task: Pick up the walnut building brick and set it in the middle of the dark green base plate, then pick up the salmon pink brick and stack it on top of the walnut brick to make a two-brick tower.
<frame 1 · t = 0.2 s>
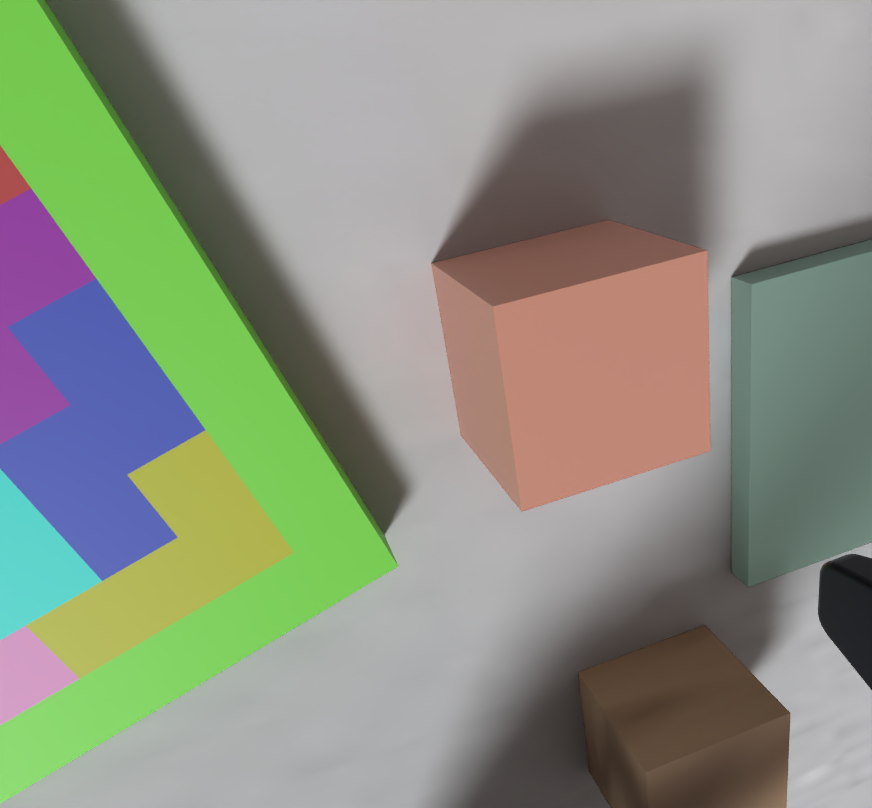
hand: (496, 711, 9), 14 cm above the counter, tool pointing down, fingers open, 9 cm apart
base plate: (870, 394, 29), on the counter
salmon pink brick: (531, 329, 24), on the counter
walnut brick: (644, 698, 31), on the counter
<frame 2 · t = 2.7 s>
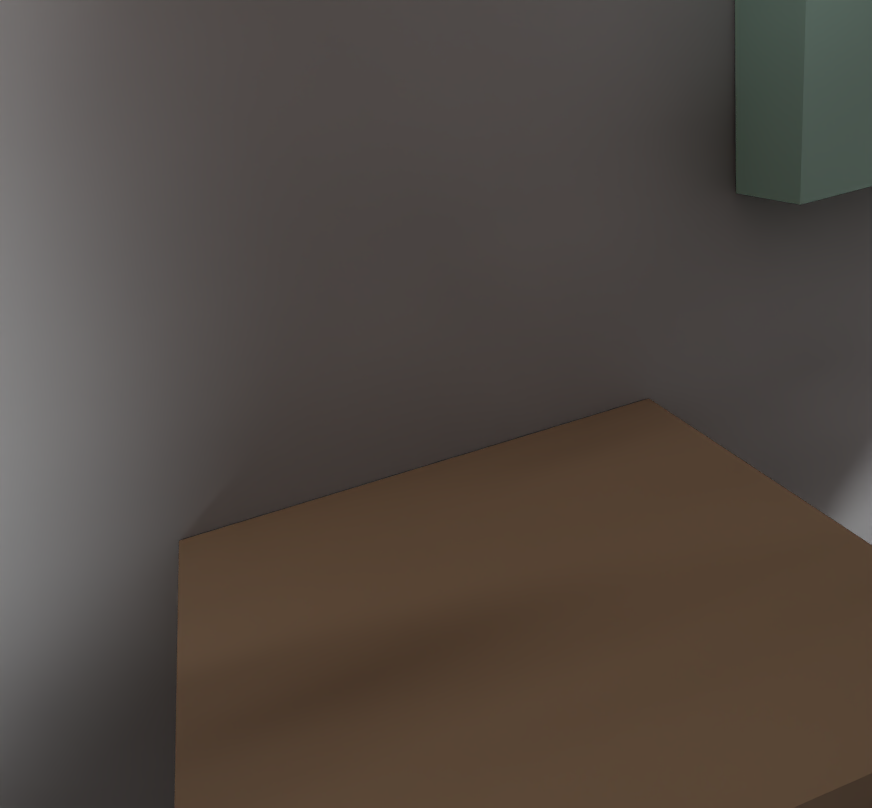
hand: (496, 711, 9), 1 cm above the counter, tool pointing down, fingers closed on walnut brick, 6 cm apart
walnut brick: (466, 652, 10), on the counter, touching gripper
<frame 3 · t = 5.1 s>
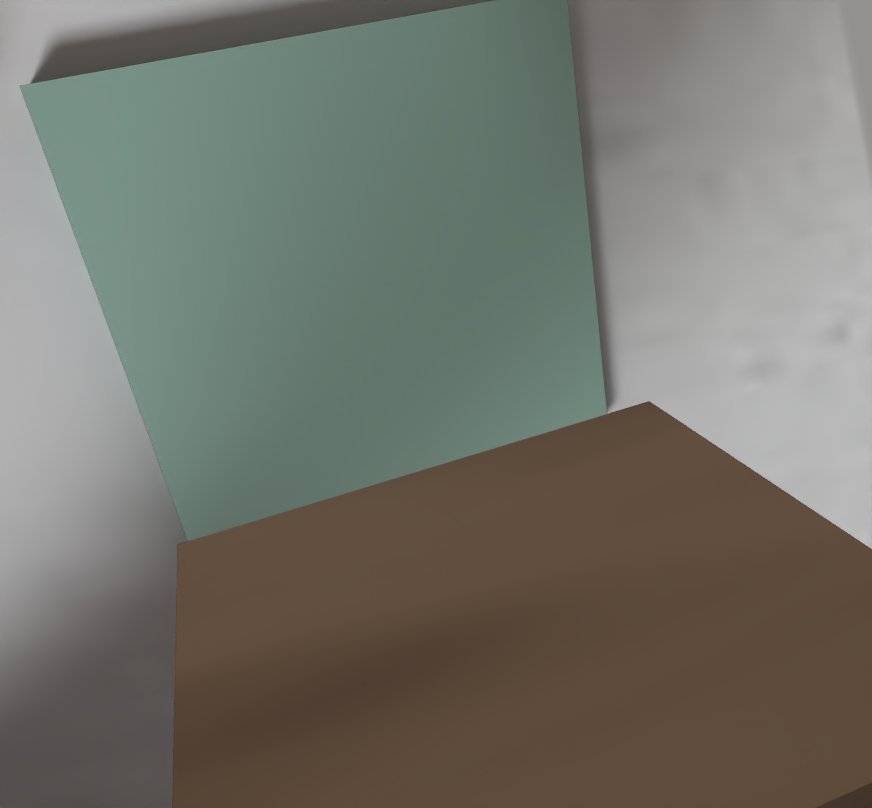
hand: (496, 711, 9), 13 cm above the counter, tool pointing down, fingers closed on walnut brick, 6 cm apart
base plate: (363, 291, 20), on the counter
walnut brick: (466, 656, 10), point 12 cm above the counter, touching gripper
when the fingers open (3 cm above the counter, at t = 7.4 s): walnut brick drops 1 cm, resting on base plate.
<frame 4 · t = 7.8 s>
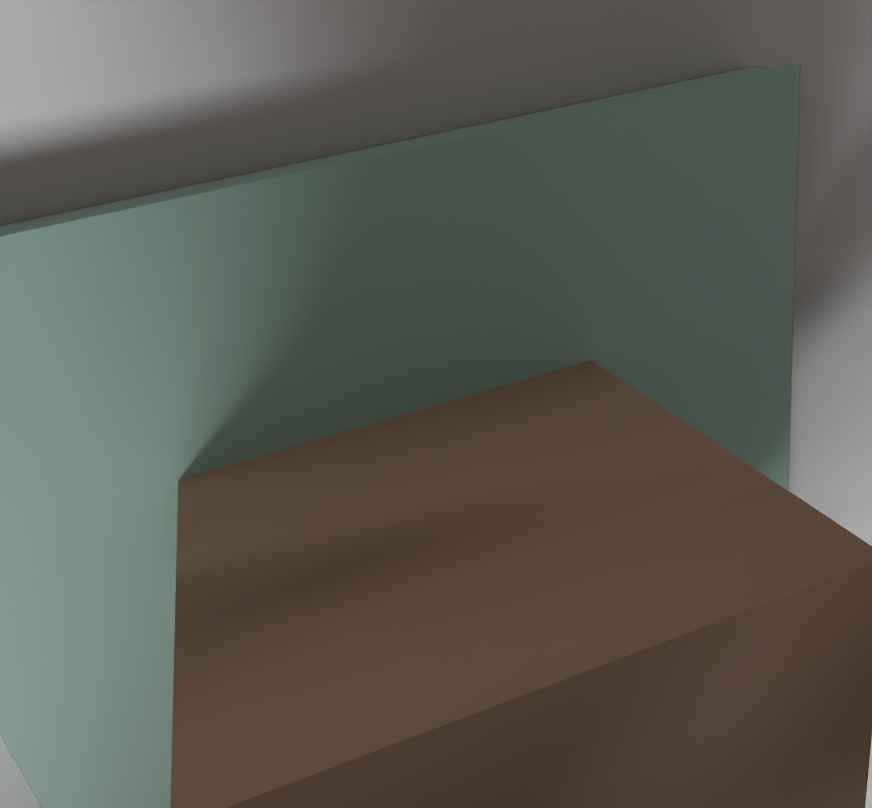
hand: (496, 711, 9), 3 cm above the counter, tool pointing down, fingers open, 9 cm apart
base plate: (417, 550, 12), on the counter
walnut brick: (433, 587, 11), point 1 cm above the counter, touching base plate
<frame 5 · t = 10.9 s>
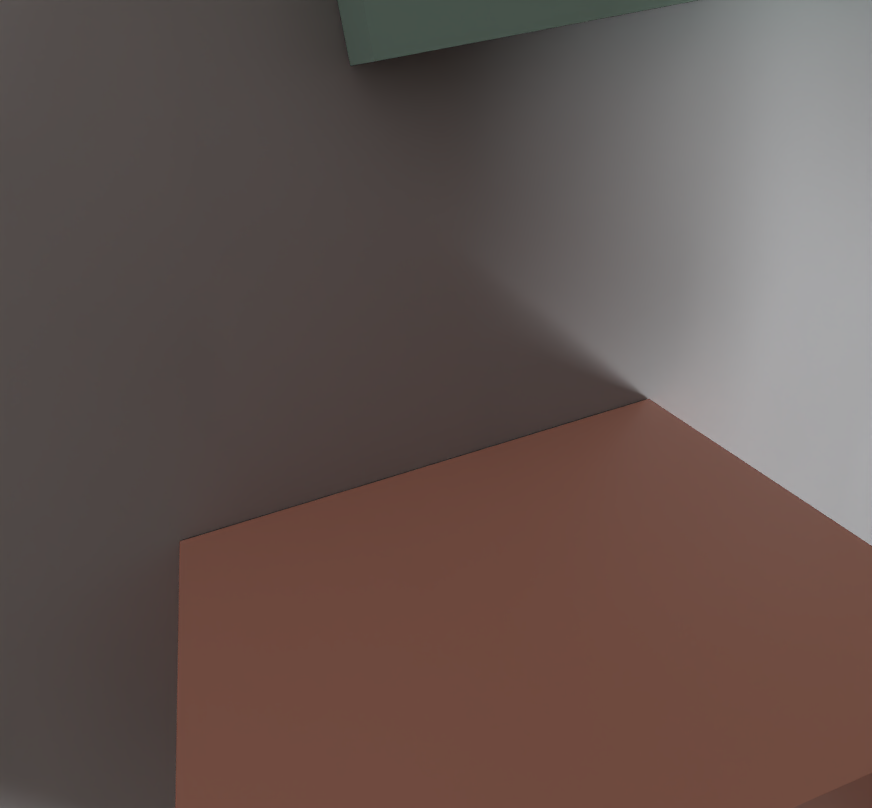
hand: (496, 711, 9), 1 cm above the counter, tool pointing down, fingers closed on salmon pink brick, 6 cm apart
salmon pink brick: (467, 652, 10), on the counter, touching gripper
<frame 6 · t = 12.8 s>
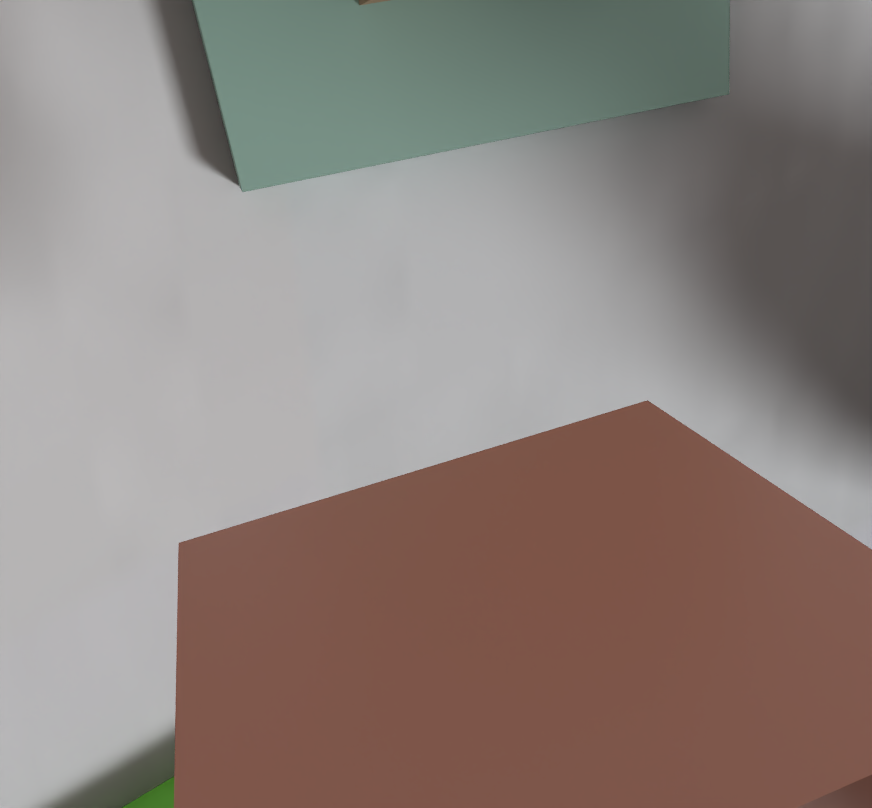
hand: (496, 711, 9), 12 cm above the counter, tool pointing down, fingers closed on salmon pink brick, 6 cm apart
salmon pink brick: (465, 654, 10), point 11 cm above the counter, touching gripper
when the fingers open (8 cm above the counter, at t = 14.8 s): salmon pink brick stays where it is, resting on walnut brick.
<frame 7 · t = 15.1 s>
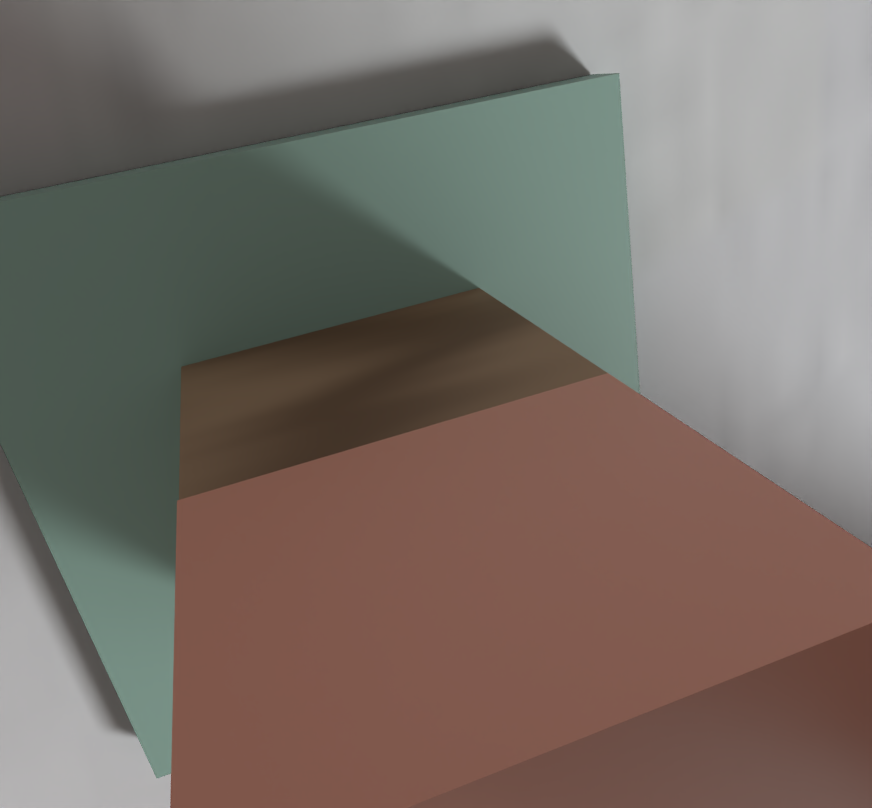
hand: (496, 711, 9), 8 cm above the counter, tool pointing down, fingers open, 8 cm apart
base plate: (357, 436, 16), on the counter
salmon pink brick: (442, 609, 11), point 6 cm above the counter, touching walnut brick
walnut brick: (368, 458, 15), point 1 cm above the counter, touching base plate, salmon pink brick
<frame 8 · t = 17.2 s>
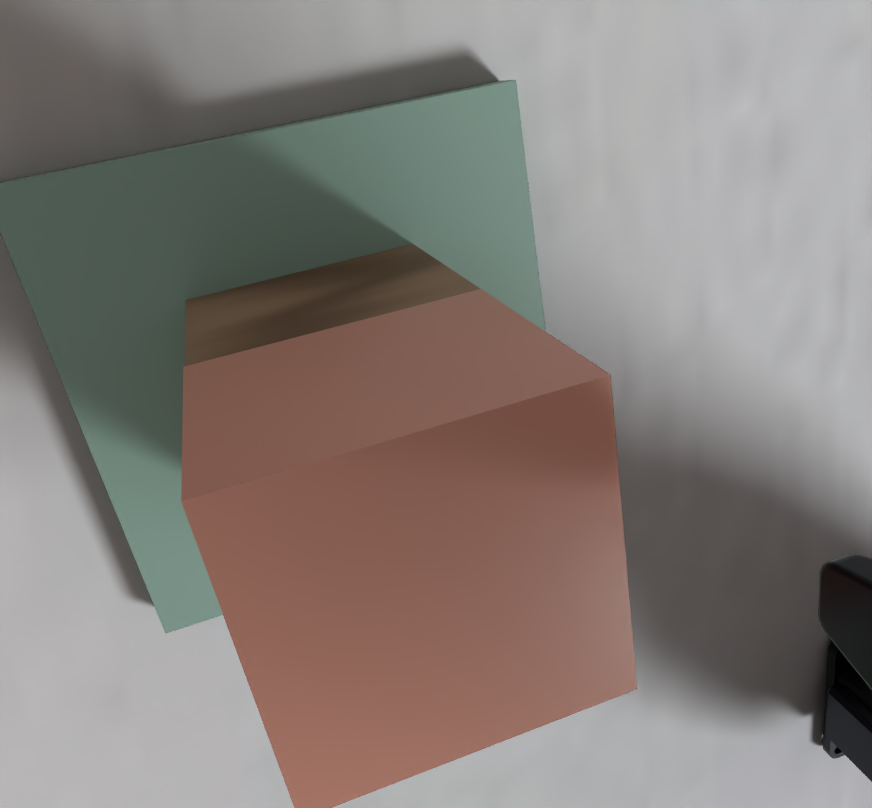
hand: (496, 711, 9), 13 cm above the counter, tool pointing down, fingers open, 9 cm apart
base plate: (322, 363, 20), on the counter
salmon pink brick: (369, 458, 15), point 6 cm above the counter, touching walnut brick
walnut brick: (329, 376, 20), point 1 cm above the counter, touching base plate, salmon pink brick
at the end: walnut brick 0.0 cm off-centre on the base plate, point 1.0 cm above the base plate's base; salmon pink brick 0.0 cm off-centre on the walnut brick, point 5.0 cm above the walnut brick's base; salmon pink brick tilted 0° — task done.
